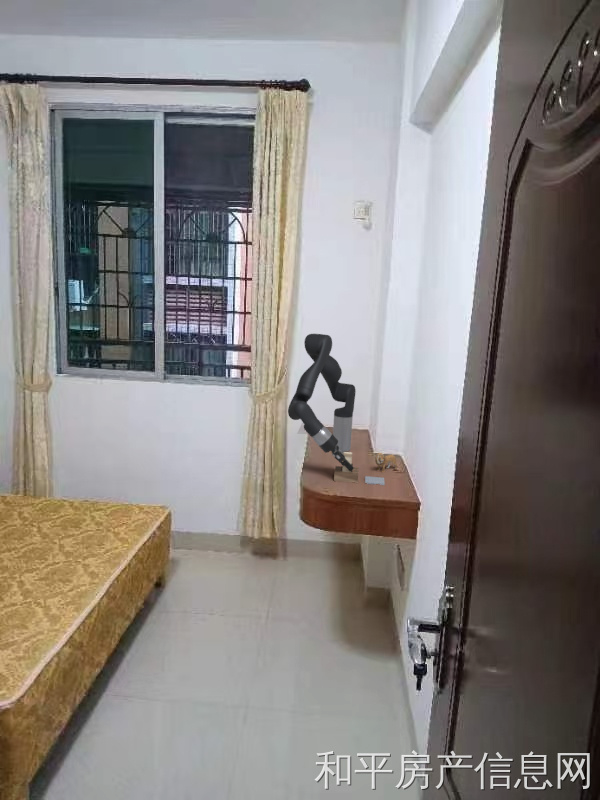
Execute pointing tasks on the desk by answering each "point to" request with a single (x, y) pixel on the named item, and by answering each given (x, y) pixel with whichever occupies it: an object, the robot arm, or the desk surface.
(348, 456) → the birch peg
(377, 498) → the desk surface
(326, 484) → the desk surface
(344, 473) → the socket block
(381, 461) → the lion figurine
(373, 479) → the slate mat
